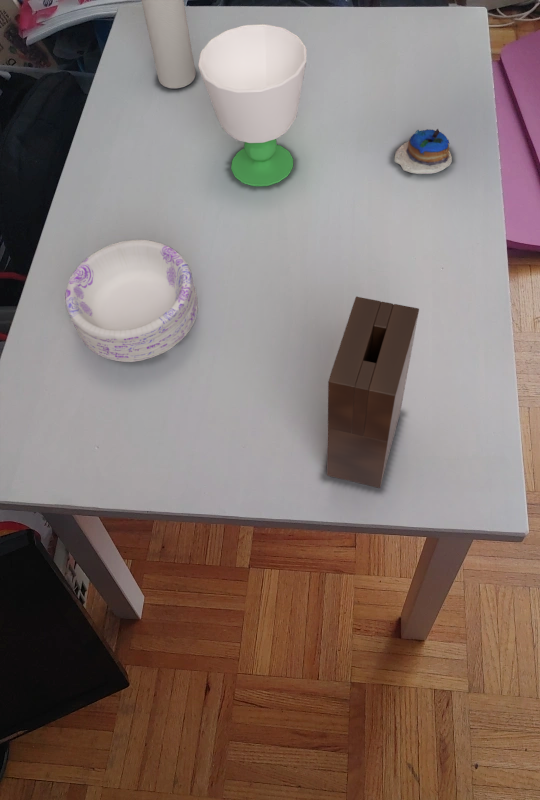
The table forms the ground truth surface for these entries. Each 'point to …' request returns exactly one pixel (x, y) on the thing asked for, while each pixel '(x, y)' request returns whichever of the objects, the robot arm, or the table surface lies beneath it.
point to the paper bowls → (132, 300)
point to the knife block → (368, 389)
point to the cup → (256, 95)
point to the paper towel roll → (170, 41)
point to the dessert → (424, 152)
